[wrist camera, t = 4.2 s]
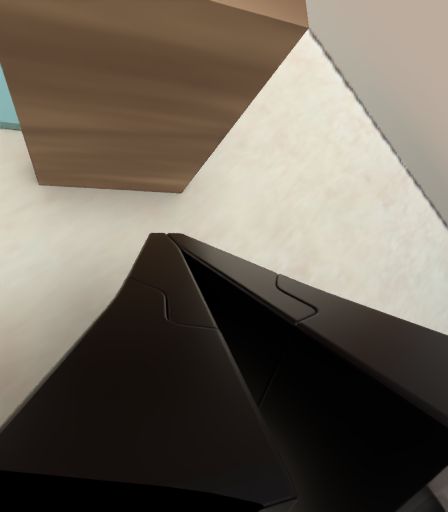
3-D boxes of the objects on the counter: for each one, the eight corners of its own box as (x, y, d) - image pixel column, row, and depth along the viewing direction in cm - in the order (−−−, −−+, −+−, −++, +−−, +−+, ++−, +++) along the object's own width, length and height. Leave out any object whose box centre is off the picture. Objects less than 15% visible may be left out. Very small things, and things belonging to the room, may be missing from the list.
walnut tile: (181, 193, 20) (308, 27, 9) (39, 184, 17) (-42, -69, 6) (180, 172, 20) (303, -16, 9) (39, 161, 17) (-40, -129, 6)
